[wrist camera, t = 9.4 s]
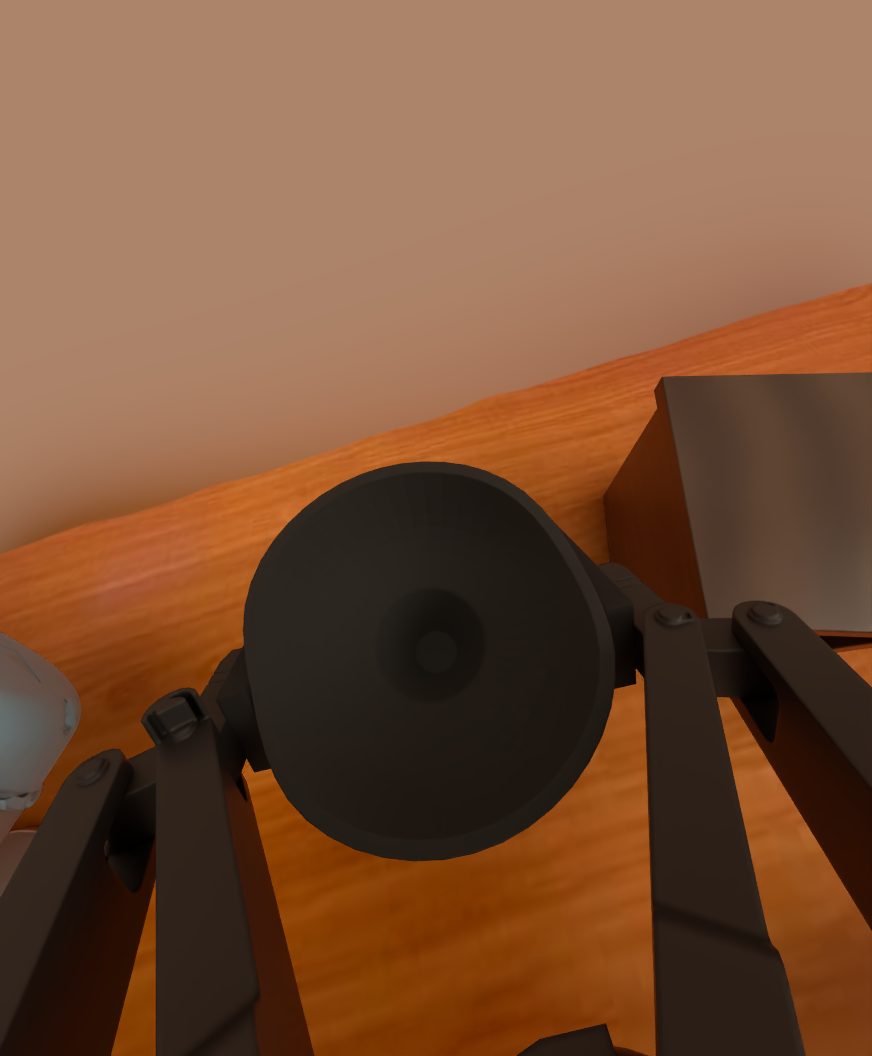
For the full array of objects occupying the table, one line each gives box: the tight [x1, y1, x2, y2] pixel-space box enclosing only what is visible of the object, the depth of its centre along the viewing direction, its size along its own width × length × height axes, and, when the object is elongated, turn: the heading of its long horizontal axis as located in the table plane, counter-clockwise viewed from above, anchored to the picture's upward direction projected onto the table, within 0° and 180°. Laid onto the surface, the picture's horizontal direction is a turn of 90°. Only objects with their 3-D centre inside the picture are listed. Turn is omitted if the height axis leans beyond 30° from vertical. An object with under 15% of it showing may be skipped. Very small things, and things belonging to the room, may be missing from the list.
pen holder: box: [243, 462, 615, 861], centre depth 15 cm, size 9×9×10 cm
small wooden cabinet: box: [603, 373, 872, 653], centre depth 27 cm, size 13×14×14 cm
